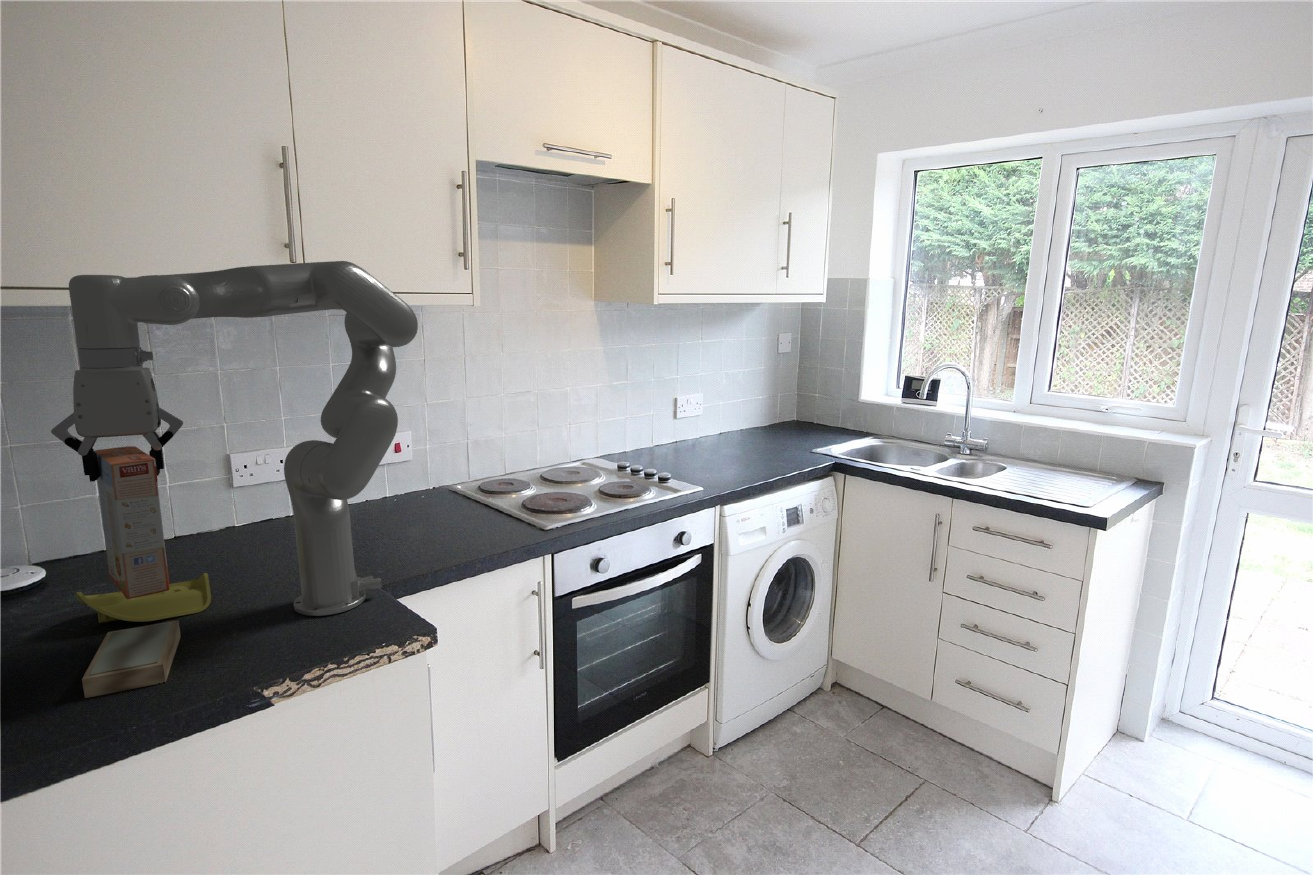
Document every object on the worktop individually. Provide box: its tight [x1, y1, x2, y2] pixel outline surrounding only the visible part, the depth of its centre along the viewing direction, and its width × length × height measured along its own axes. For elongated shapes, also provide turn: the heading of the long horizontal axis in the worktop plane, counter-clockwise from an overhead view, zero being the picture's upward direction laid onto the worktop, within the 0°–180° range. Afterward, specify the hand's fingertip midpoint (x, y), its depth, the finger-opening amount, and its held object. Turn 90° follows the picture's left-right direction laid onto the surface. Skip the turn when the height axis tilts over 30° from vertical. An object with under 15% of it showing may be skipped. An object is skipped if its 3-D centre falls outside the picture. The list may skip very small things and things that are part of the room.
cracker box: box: [94, 445, 170, 599], centre depth 112 cm, size 14×6×21 cm, turn 45°
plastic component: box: [75, 572, 212, 624], centre depth 135 cm, size 20×7×10 cm
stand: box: [81, 619, 182, 699], centre depth 117 cm, size 10×17×3 cm, turn 26°
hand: (126, 476), depth 111 cm, fingers closed on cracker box, 7 cm apart
